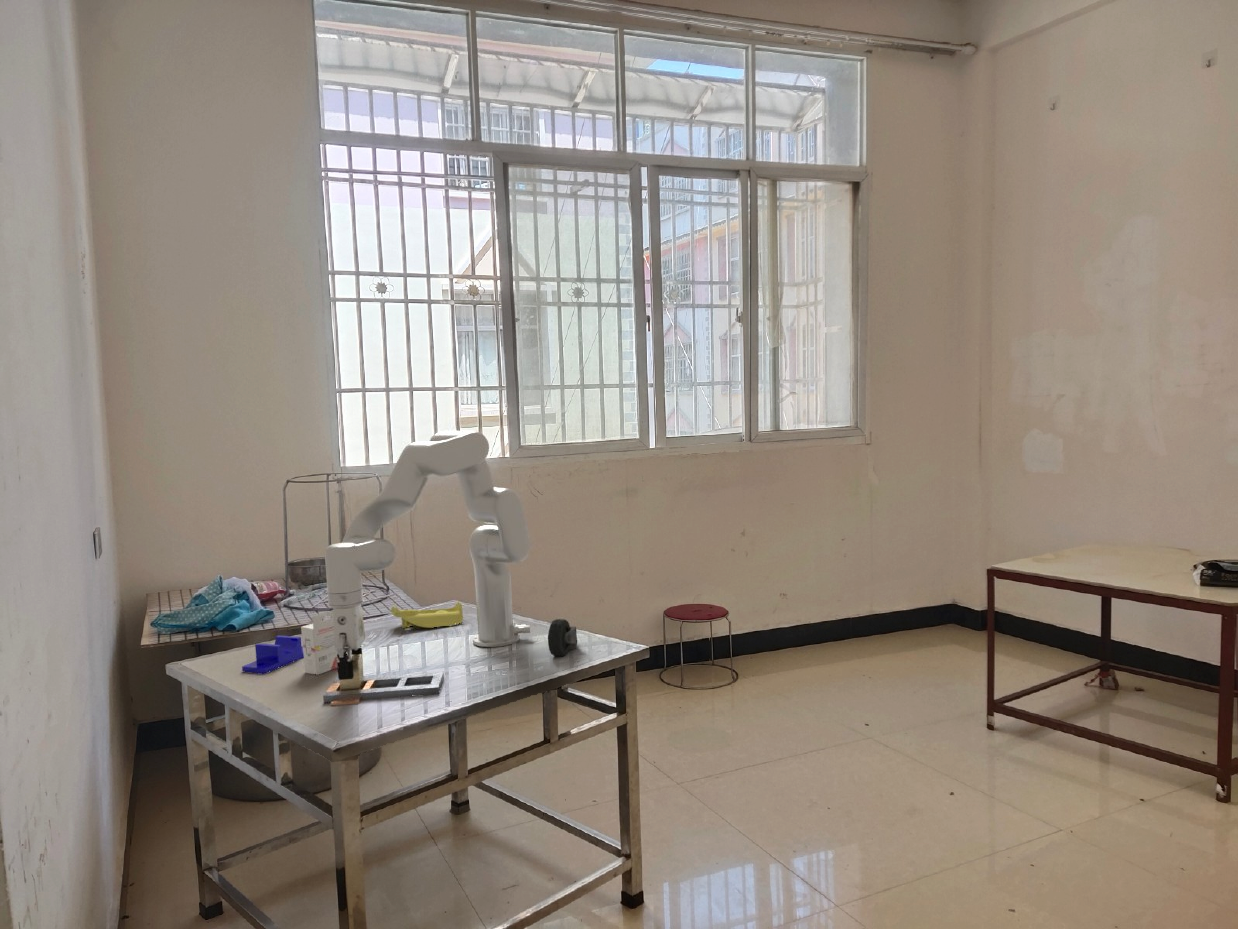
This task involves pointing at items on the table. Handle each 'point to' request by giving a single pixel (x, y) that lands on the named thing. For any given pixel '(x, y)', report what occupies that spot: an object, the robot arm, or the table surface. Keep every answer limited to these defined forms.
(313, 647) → the ink cartridge box
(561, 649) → the caster wheel
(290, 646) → the mounting bracket
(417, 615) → the plastic component
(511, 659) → the table surface
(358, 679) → the brass block
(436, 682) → the rail frame
